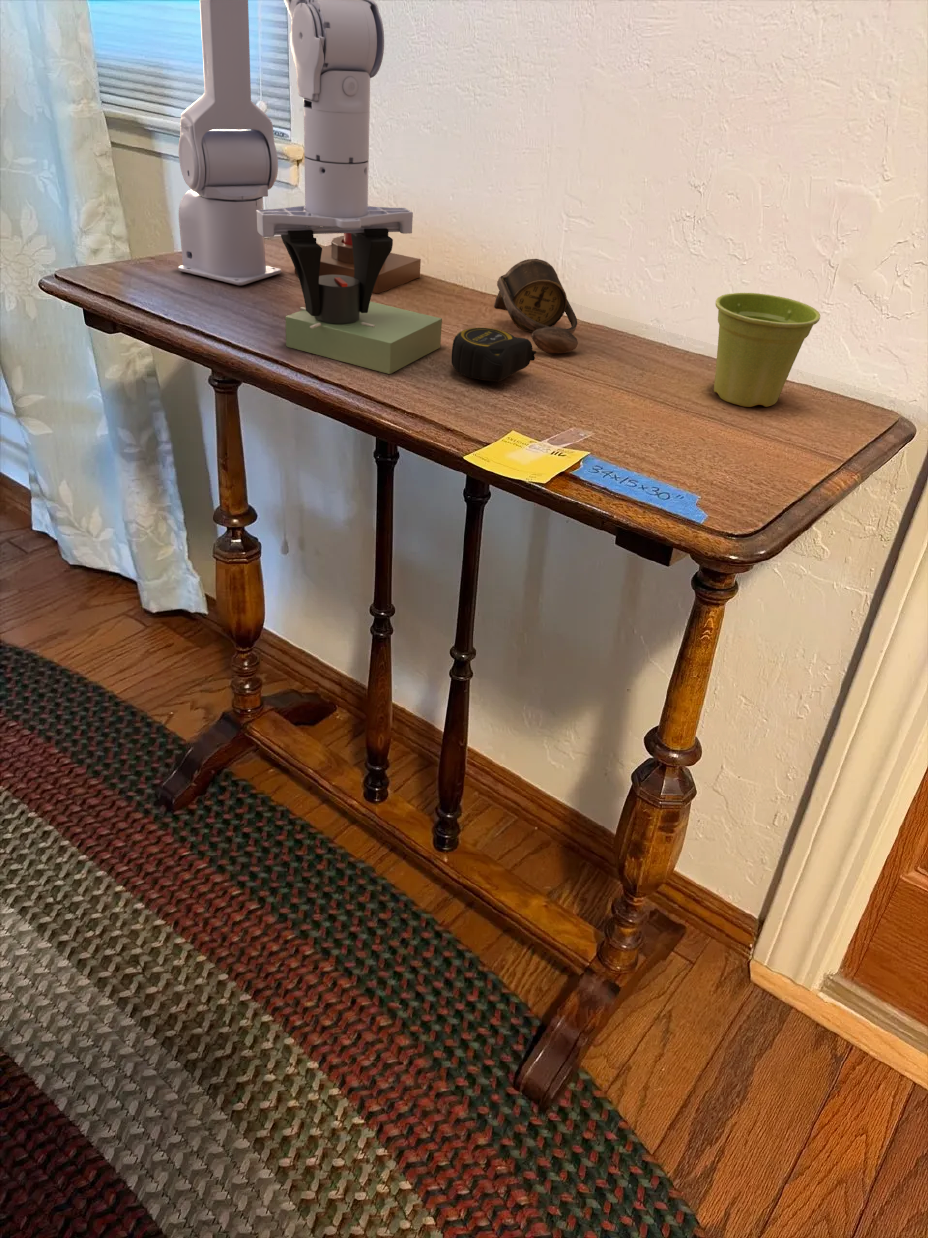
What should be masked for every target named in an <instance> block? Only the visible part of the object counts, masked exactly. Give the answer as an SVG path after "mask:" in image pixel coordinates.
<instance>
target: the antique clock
mask: <svg viewBox="0 0 928 1238" xmlns="http://www.w3.org/2000/svg"><path fill="white" fill-rule="evenodd" d="M496 286H497V288H498V293H497V295H496V297H495V300H494V303H493V308H494V309H496V310H503V311H507V312H508V315H509V318H510V320H511V321H512V323H513V324H514V326H516V328H518V329H520V330H522V331H523V332H530V333H531V336H530V337H531V339H532V342H533V343H534V345H535V346H536V347H537V348H538V349H539V350H541V351H543V352H544V353H545V352H546V353H548V354H565V353H569V352H572V351H574V350H575V349H576V348H577V347H578V345H579V341H578V339H577V337H576V336H575V335H574V333H575V332H576V330H577V326H578V318H577V316H576V313H575V312H574V309H573V307H572V305H571V304H570V301H569V300H568V298H567V297H568V296H567V293H566V291H565V289H564V287H563V285H562V282H561V280H560V279H559V276H558V273H557V272H556V269H555V267H553V265H552V264H550V263H549V262H548V261H546V260H543V259H539V258H528V259H523V260H522V261H519V262H517V263H516V264H514V265H513V266H512V267H511V268H510V269H508V271H507V272H506V273H505V274H502V275H500V276H499V277H498V279H497V283H496ZM564 314H566V318H567V320H568V321H569V323H570V327H568V328H563V327H559V326H555V325H556V324H557V323H558V322H559V321H560V320H561V319H562V317H563V316H564Z"/></svg>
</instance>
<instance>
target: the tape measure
mask: <svg viewBox="0 0 928 1238" xmlns="http://www.w3.org/2000/svg"><path fill="white" fill-rule="evenodd" d="M533 349H534V348H533V345H532V342H531V340H530V339H528V338H524V337H518V336H515V335H513V334H511V333H509V332H507V331H505V330H502V329H497V328H492V327H470V328H465V329H462V330H460V331H459V332H458V333H457V334H456V335H455V337H454V338H453V340H452V346H451V365H452V367H453V369H454V370H455V371H456V372H457V373H458V374H460V375H462V376H464V377H466V378H470V379H475V380H482V381H488V382H501V381H503V380H505V379H506V378H508V377H510V376H511V375H514V374H516V373H517V372H520V371H521V370H523V369H526V368H527V367H528V366H529V365H530V363H531V361H532V362H534V361H535V359H536V356H535V355H536V354H537V351H536V350H533Z"/></svg>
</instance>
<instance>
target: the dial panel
mask: <svg viewBox="0 0 928 1238" xmlns="http://www.w3.org/2000/svg"><path fill="white" fill-rule="evenodd" d="M284 319H285V345H286V348H290V349H294V350H297V351H302V352H304V353H305V352H306V353H309V354H312V355H317V356H320V357H324V358H328V359H332V360H335V361H339V362H342V363H346V364H350V365H353V366H358V367H361V368H365V369H369V370H373V371H377V372H380V373H384V374H387V375H391V374H394V372H397V371H399V370H401V369H402V368H405V367H406V366H408V365H410V364H412V363H413V362H416V361H418V360H420V359H421V358H423V357H425V356H427V355H429V354H431V353H433V352H435V351H436V350H438V349H440V348H441V344H442V343H441V341H442V326H443V318H442V317H438V316H433V315H429V314H425V313H421V312H416V311H412V310H408V309H404V308H399V307H395V306H392V305H387V304H383V303H380V302H379V303H378V302H375V301H371V300H370V304H369V308H368V313H361V312H360V316H359V320H358V321H356V322H353V323H348V324H332V323H326V322H322V321H319V320H317V319H316V318H315V316H311V315H310V314H309V313H308V312H307V311H306V307H305V306H301V307H299V311H296V312H293V313H291V314H289V315H286V316H285V317H284Z"/></svg>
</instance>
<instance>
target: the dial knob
mask: <svg viewBox="0 0 928 1238" xmlns="http://www.w3.org/2000/svg"><path fill="white" fill-rule="evenodd" d="M319 298H320V311H319V316H315V318H316V319H317V320H319V321H322V322H326V323H332V324H348V323H353V322H356V321H358V320H359V316H360V281H359V280H358V279H356V278H353V277H350V276H345V275H322V276H319Z"/></svg>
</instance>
